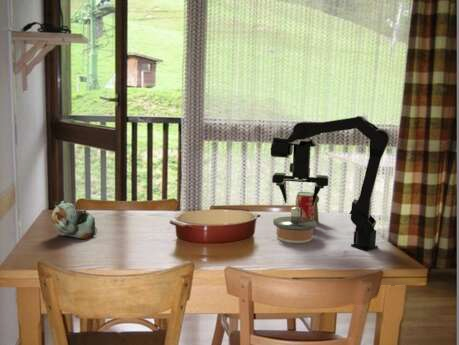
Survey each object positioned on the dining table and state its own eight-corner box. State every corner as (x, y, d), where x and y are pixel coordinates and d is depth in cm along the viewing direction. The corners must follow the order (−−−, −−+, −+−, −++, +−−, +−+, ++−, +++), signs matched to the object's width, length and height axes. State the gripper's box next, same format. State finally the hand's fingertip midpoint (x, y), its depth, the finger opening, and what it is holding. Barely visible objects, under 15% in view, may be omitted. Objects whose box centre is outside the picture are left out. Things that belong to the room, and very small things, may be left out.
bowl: (318, 239, 182) (319, 225, 182) (293, 245, 175) (294, 230, 174) (294, 231, 192) (294, 218, 191) (269, 236, 184) (270, 222, 184)
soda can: (312, 225, 201) (314, 192, 198) (313, 230, 194) (316, 196, 191) (294, 224, 201) (295, 191, 199) (294, 229, 194) (296, 195, 192)
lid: (326, 226, 181) (327, 209, 180) (294, 232, 172) (295, 215, 171) (295, 216, 193) (295, 201, 192) (264, 222, 184) (265, 206, 183)
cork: (318, 224, 202) (320, 196, 200) (302, 223, 203) (304, 195, 201) (319, 220, 208) (320, 193, 206) (303, 219, 209) (305, 192, 207)
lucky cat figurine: (98, 239, 174) (79, 207, 167) (64, 253, 174) (43, 221, 167) (97, 216, 187) (80, 184, 180) (66, 229, 187) (47, 198, 180)
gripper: (330, 157, 185) (327, 200, 187) (276, 154, 188) (275, 197, 191) (329, 161, 174) (326, 207, 176) (272, 158, 178) (271, 203, 180)
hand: (299, 203), depth 181 cm, fingers open, 9 cm apart
